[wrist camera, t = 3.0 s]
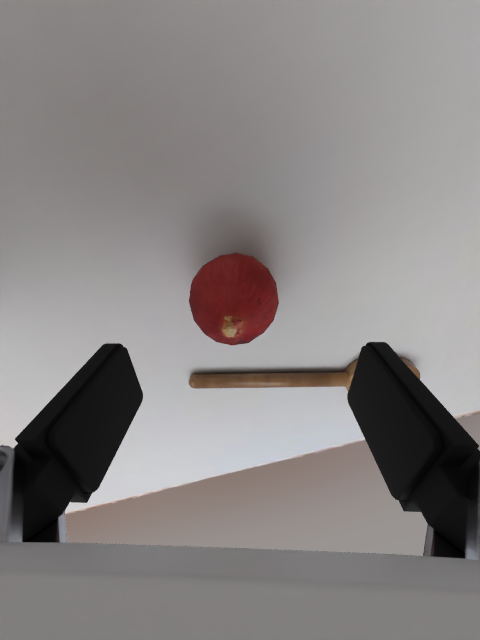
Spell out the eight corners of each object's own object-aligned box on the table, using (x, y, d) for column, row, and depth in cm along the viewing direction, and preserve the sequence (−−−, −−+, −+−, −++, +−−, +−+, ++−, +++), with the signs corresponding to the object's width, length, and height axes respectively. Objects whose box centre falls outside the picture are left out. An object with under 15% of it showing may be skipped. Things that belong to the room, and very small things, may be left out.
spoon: (193, 393, 25) (191, 404, 24) (186, 357, 22) (183, 366, 21) (402, 390, 24) (411, 401, 23) (420, 353, 22) (431, 362, 20)
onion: (274, 307, 19) (291, 372, 12) (209, 315, 20) (191, 383, 13) (267, 237, 16) (286, 272, 10) (191, 249, 17) (156, 290, 10)
